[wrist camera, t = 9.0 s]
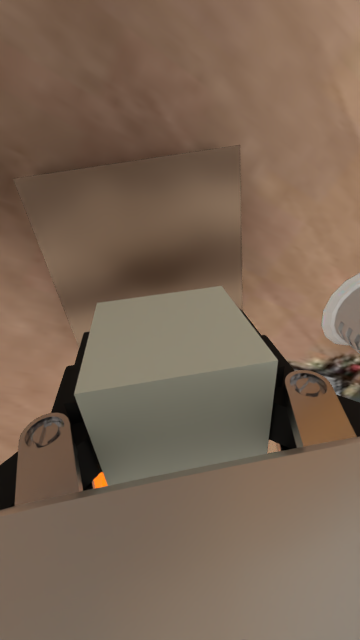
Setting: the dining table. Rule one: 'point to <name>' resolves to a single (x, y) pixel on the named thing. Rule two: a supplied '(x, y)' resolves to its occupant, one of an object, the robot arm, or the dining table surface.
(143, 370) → the sage cube
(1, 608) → the robot arm
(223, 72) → the dining table surface
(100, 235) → the walnut block
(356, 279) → the french press
